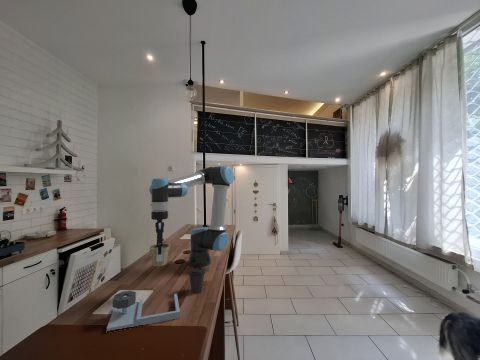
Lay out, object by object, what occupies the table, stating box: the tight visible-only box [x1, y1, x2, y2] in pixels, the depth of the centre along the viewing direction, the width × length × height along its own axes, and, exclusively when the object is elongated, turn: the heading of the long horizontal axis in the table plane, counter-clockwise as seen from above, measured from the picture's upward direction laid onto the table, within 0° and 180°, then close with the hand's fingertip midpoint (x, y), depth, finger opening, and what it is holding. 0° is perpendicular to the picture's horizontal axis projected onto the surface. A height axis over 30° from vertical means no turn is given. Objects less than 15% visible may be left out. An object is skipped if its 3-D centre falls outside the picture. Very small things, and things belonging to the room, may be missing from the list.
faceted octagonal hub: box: [112, 290, 137, 309], centre depth 87 cm, size 8×8×3 cm
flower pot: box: [148, 243, 171, 267], centre depth 106 cm, size 9×9×9 cm
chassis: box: [106, 293, 181, 332], centre depth 89 cm, size 25×16×8 cm, turn 110°
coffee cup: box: [188, 268, 206, 294], centre depth 109 cm, size 8×8×10 cm
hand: (159, 257), depth 106 cm, fingers closed on flower pot, 9 cm apart
